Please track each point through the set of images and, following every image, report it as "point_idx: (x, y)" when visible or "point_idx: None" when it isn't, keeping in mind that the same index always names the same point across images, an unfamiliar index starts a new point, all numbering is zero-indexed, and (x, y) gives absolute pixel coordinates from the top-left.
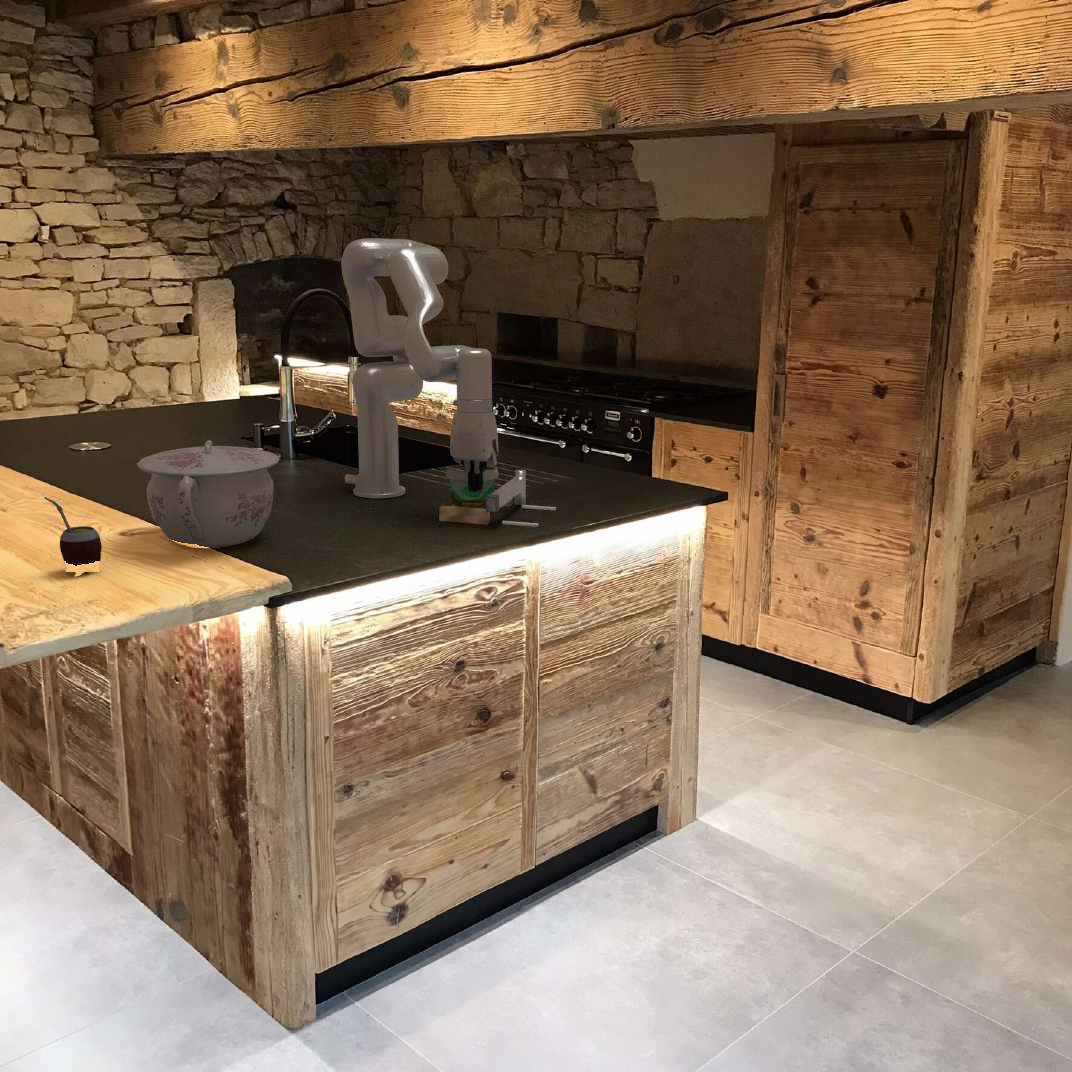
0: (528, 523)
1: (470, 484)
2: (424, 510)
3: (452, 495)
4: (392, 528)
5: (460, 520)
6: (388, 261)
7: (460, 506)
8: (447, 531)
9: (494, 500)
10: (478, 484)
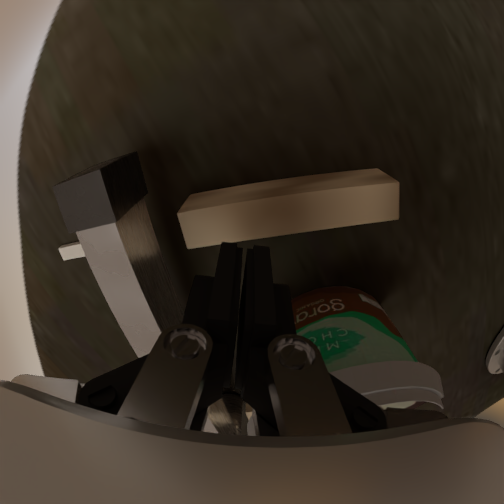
0: (80, 249)
1: (253, 268)
2: (449, 268)
3: (392, 328)
4: (455, 29)
5: (296, 179)
6: None
7: (351, 299)
8: (275, 36)
9: (71, 177)
10: (196, 282)
